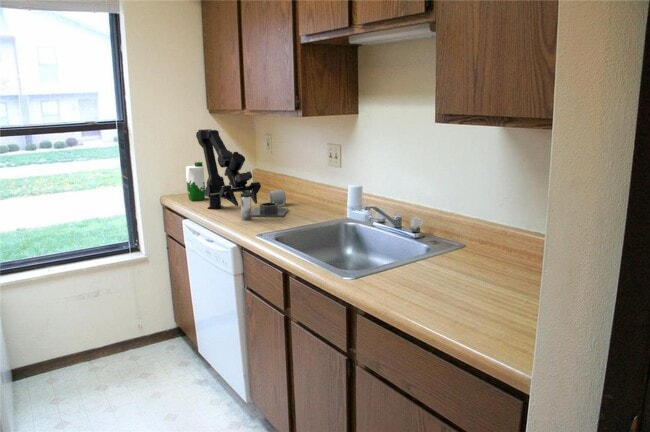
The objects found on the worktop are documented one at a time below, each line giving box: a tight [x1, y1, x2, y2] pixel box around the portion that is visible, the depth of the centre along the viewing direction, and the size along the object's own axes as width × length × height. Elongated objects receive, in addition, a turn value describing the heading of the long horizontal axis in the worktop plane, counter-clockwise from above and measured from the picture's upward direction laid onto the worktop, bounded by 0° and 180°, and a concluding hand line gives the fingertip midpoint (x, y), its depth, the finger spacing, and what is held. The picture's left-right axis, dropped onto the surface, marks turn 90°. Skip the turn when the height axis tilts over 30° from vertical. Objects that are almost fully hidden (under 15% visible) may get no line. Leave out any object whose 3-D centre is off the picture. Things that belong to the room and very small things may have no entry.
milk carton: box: [185, 161, 206, 202], centre depth 276 cm, size 9×9×20 cm
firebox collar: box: [251, 202, 289, 218], centre depth 243 cm, size 16×16×4 cm
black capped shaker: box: [239, 191, 253, 221], centre depth 230 cm, size 4×4×12 cm
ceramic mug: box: [266, 188, 287, 208], centre depth 261 cm, size 11×8×8 cm
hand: (247, 204), depth 229 cm, fingers open, 9 cm apart
